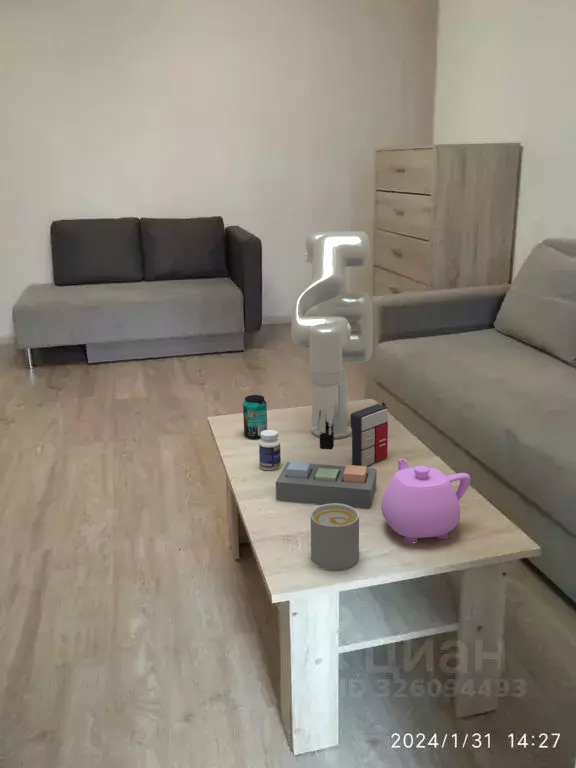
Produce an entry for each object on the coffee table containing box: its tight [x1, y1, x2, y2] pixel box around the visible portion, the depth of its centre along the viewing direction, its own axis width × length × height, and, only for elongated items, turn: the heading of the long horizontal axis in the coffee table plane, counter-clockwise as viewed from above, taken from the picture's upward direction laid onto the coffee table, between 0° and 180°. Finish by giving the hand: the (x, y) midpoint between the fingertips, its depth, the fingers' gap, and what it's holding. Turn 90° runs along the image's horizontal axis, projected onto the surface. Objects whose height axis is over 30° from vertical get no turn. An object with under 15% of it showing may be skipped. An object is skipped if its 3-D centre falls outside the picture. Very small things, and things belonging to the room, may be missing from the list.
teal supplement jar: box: [242, 394, 268, 440], centre depth 212 cm, size 7×7×12 cm
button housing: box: [275, 461, 377, 510], centre depth 175 cm, size 12×23×5 cm, turn 77°
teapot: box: [380, 458, 472, 544], centre depth 158 cm, size 20×20×15 cm
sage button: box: [315, 468, 339, 481], centre depth 175 cm, size 5×5×5 cm
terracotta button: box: [343, 464, 368, 484], centre depth 173 cm, size 5×5×5 cm
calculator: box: [350, 403, 389, 467], centre depth 191 cm, size 11×4×15 cm, turn 131°
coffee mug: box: [310, 503, 360, 571], centre depth 148 cm, size 13×10×10 cm
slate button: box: [287, 460, 312, 479], centre depth 176 cm, size 5×5×5 cm
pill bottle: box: [258, 429, 282, 471], centre depth 190 cm, size 6×6×10 cm
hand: (326, 447), depth 173 cm, fingers closed
